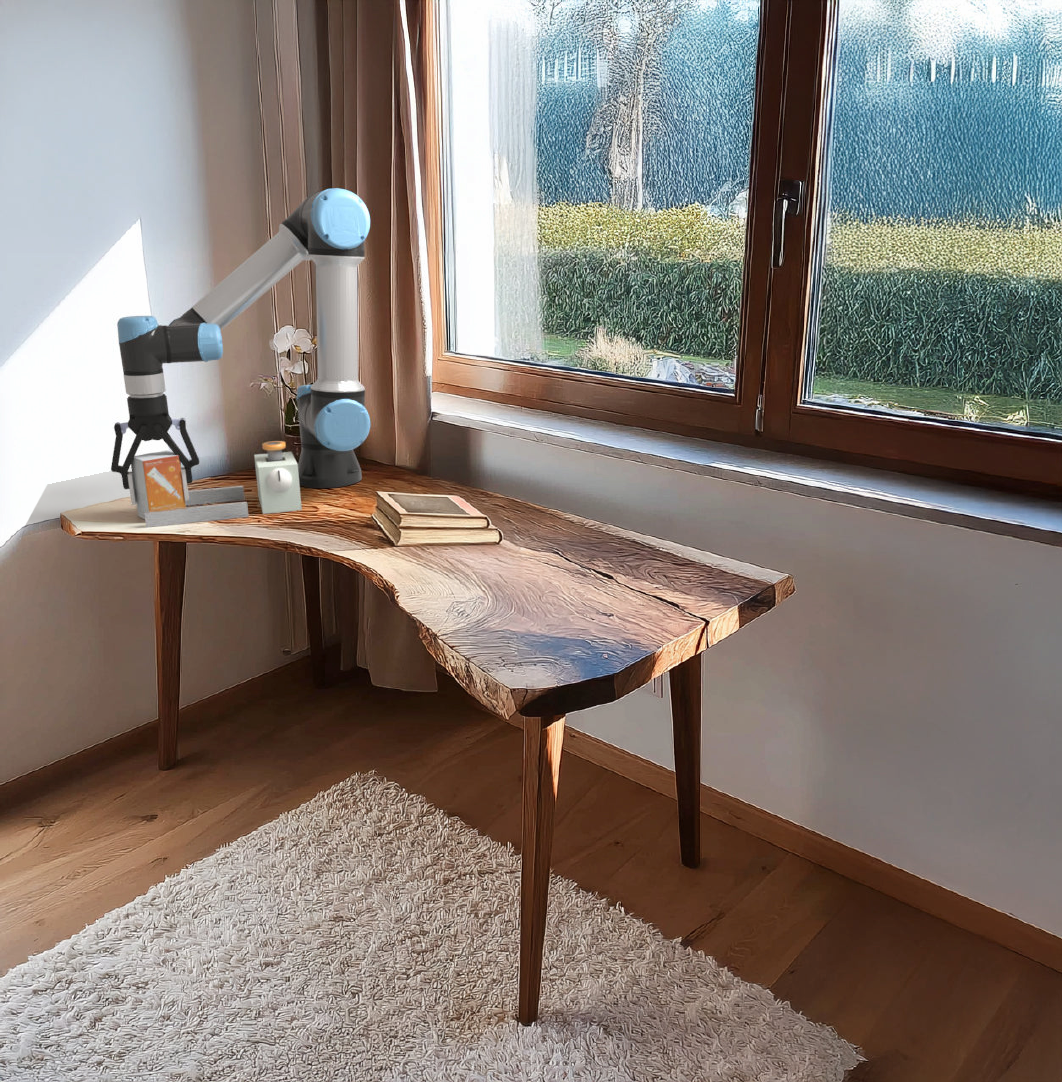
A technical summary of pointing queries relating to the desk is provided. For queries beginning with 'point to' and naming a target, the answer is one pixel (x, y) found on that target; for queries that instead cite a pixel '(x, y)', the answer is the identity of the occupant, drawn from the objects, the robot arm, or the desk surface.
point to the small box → (157, 482)
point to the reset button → (274, 450)
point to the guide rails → (202, 508)
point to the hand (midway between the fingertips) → (160, 501)
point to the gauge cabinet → (278, 483)
